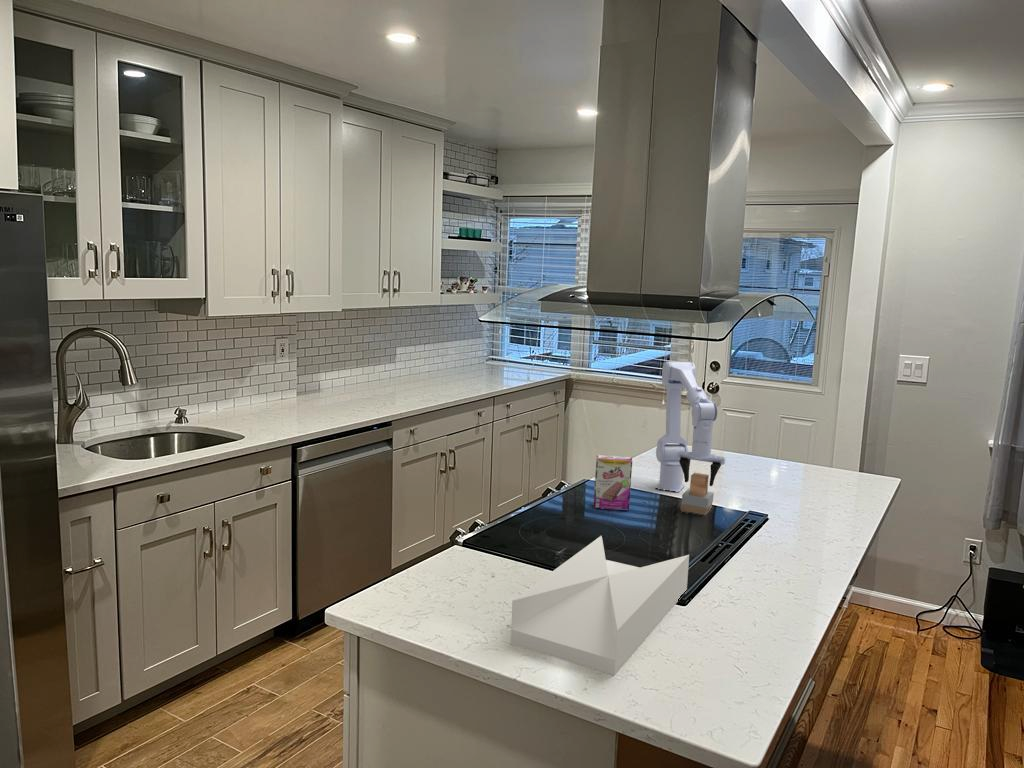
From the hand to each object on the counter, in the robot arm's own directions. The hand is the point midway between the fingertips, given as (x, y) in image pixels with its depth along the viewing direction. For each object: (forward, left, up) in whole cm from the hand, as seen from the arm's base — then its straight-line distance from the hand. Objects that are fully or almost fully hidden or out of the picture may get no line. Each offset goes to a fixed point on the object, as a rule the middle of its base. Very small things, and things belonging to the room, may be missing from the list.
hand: (698, 483), depth 241 cm
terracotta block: (0, 0, -3) cm, 3 cm away
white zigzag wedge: (+84, 0, -10) cm, 85 cm away
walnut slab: (0, 0, -9) cm, 9 cm away
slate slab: (0, 0, -6) cm, 6 cm away
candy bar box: (+12, -24, -9) cm, 28 cm away
